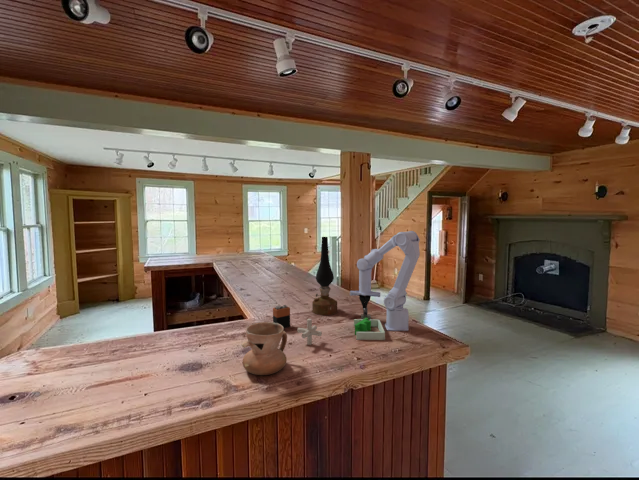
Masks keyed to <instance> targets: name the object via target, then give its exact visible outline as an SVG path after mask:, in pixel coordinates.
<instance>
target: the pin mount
mask: <svg viewBox="0 0 639 480" xmlns="http://www.w3.org/2000/svg"><path fill="white" fill-rule="evenodd" d="M364 318H368V321H370V319H372V315H371V314H369V313H368V314H363V313H362V314H360V319H364Z"/></svg>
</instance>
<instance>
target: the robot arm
mask: <svg viewBox="0 0 639 480" xmlns="http://www.w3.org/2000/svg"><path fill="white" fill-rule="evenodd" d="M420 240H421V239H420V237H419V236H418V234H417V232H415V231H414V230H409V231H408V230H407V231H399V232H397V233H396V234H394V235H393V236H392V237H391V238H389V240H387V241H386V242H385V243H384V244H383V245H382V246H380V248H372V249H371V250H370V252H369V253H368V254H365V255H364V257H363V258H359V259H358V260H357V262H356V267H357V269H358V270H359V271H358V273H359V274H358V290H349V296H350V297H351V296H358V298H359V301H360V303H361V306H362V309H363V308H364V307H366V308H368V304H369V302H370V300H371V297H375V298H376V297H377V298H381V292H380V291H372V272H373V271H372V270H373V268H374V266H375V265H376V264H378V263H380V261H382V260H384V255H385V254H387V253H388V252H390V251H391V250H393V249H395V248H396V247H398V248H400V250H401V251H402V252H403V254H404V255H405V256H404V259H403V261H402V264H401V267H400V270H398V271H399V272H398V274H397V277H396V279H395V282H394V284H393V287H392V288H391V289H390V290H389V291H388V294H387V295H386V296H385V297H384V298H383V304H384V307H385V309H386V317H385V318H386V322H385V323H384V327H385V329H386V331H398V332H399V331H400V332H401V331H405V332H408V331H409V329H410V328H409V319H410V318H409V317H410V316H409V310H408V309H407V307H404V305H405V304H406V302H407V294H408V293H407V291H406V290H407V288H408V286H409V283H410V280H411V277H412V275H413V273H414V270H415V267H416V265H417V263H418V261H419V258H420Z"/></svg>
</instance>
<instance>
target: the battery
mask: <svg viewBox="0 0 639 480" xmlns="http://www.w3.org/2000/svg"><path fill="white" fill-rule="evenodd" d="M272 322H274V323H278V324H281V325H282V326H283V328H284V329H287V328H290V327H291V307H289V306H288V305H286V304H283V305H276V306H274V307H273V308H272Z"/></svg>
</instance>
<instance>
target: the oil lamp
mask: <svg viewBox="0 0 639 480" xmlns="http://www.w3.org/2000/svg"><path fill="white" fill-rule="evenodd" d="M328 239H329V237H328V236H322V237H321V249H320V261H319V266H318V269H317V271H316V274H315V280H316V282H317V283H318V285H320V287H318V290H319V292H320V294H319V295H318V293H316V294H315V298H313V299H314V300H313V301H311V302H312V303H311V305H312V309H311V312H312V313H313V314H315V315H318V316H333V315H335V314H337V313H338V312H339V310H338V301H337V300H336V299H335V298H332V297H330V291H331V287H330V285H331V284H333V282H334V280H335V276H334V272H333V270H332V267H331V264H330V257H329V240H328ZM318 296H319V297H318ZM316 297H317V298H316Z"/></svg>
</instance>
